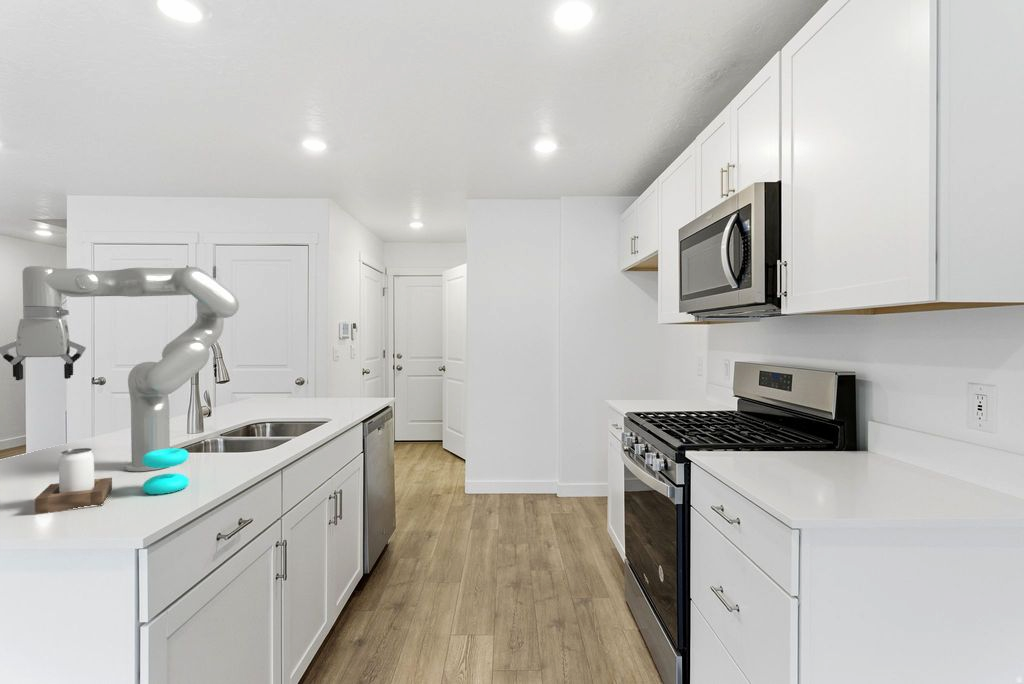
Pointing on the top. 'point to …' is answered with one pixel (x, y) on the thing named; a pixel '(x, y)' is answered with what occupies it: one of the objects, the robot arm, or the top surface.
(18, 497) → the top surface
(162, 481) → the donuts
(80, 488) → the can
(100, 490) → the socket block
